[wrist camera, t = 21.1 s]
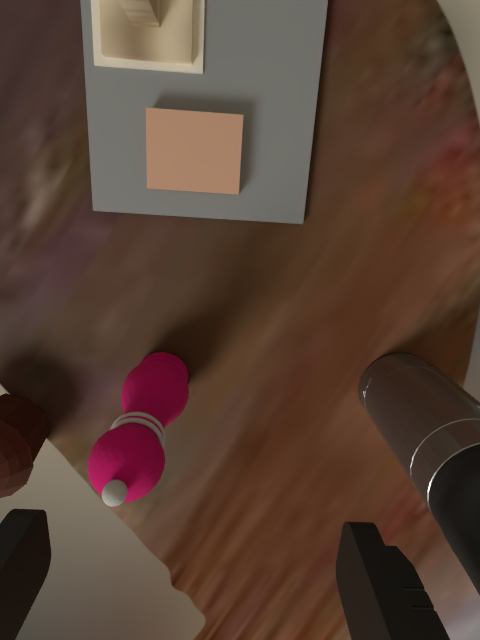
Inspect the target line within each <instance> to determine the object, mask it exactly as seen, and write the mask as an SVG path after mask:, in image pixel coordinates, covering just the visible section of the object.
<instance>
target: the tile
mask: <svg viewBox="0 0 480 640" xmlns="http://www.w3.org/2000/svg"><path fill="white" fill-rule="evenodd" d="M242 130H243V115H240V114H226V113H213V112H199V111H185V110H172V109H158V108H146V160H147V188H148V189H158V190H173V191H189V192H204V193H219V194H234V195H239V183H240V165H241V148H242Z"/></svg>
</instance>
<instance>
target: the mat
mask: <svg viewBox="0 0 480 640" xmlns="http://www.w3.org/2000/svg"><path fill="white" fill-rule="evenodd" d="M327 6H328V0H205V14H204V52H203V74H195V73H182V72H169V71H156V70H143V69H130V68H117V67H104V66H95V65H94V53H93V34H92V15H91V0H81V16H82V33H83V50H84V67H85V84H86V100H87V117H88V134H89V151H90V168H91V184H92V201H93V211H105V212H121V213H137V214H152V215H168V216H184V217H200V218H216V219H231V220H247V221H263V222H279V223H294V224H303V221H304V212H305V203H306V194H307V185H308V176H309V167H310V158H311V149H312V140H313V131H314V122H315V113H316V104H317V95H318V86H319V77H320V68H321V59H322V50H323V41H324V32H325V23H326V15H327ZM146 108H158V109H172V110H185V111H199V112H213V113H226V114H240V115H243V130H242V148H241V165H240V183H239V195H234V194H219V193H204V192H189V191H173V190H158V189H148V188H147V160H146Z"/></svg>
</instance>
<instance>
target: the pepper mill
mask: <svg viewBox="0 0 480 640" xmlns="http://www.w3.org/2000/svg"><path fill="white" fill-rule="evenodd" d="M187 382H188V370H187V368H186V366H185V364H184V363H183V361H181V360H180V359H179V358H178V357H177V356H175V355H173V354H170V353H166V352H157V353H153V354H150V355H148V356H147V357H145V358H144V359H143V360H142V361H141V363H140V364H139V366H137V367H136V368H134V369H133V370H132V371H131V372H130V373H129V375H128V376H127V378H126V380H125V382H124V385H123V388H122V398H121V400H122V406H123V411H124V415H122V416H120V417H119V418H117V419H116V420H115V422H114V423H113V425H112V427H111V429H110V430H109V431H108V432H106V433H105V434H104V435H103V436H101V437H100V438H99V439H98V441H97V442H96V443H95V445H94V447H93V448H92V451H91V453H90V456H89V461H88V476H89V478H90V481H91V483H92V485H93V487H94V488H95V489H96V491H97V492H99V493H100V494H101V495H102V499H103V501H104V503H105V504H107V505H108V506H118V505H120V504H121V503H122V502H130V501H134V500H137V499H139V498H142V497H143V496H145V495H146V494H148V493H149V492H150V491H151V490H152V489H153V488H154V487H155V486H156V484H157V483H158V481H159V480H160V478H161V475H162V472H163V470H164V464H165V456H164V450H163V448H164V444H165V440H166V435H165V430H164V427H165V426H166V425H168V424H169V423H171V422H173V421H174V420H175V419H176V418H177V417H178V416H179V415H180V414H181V412H182V411H183V409H184V407H185V405H186V403H187V400H188V394H189V389H188V384H187Z"/></svg>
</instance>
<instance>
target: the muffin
mask: <svg viewBox="0 0 480 640" xmlns="http://www.w3.org/2000/svg"><path fill="white" fill-rule="evenodd" d="M48 433H49V429H48V427H47V424H46V418H45V413H44V412H43V411H41V410H40V409H39V408H37V407H36V406H35V405H34V404H33V403H32V402H31V401H30V400H29V399H28V398H22V397H16V396H13V395H9V394H6V393H5V394H3V395H1V396H0V498H2V497H6V496H10V495H12V494H14V493H15V492H16V491H18V490H19V489H20V488H21V487H23V486H24V485H25V484H27V481H28V479H29V476H30V474H31V471H32V469H33V462H34V460H35V458H36V456H37V454H38V453H39V451H40V448H41V447H42V445H43V443H44V441H45V439H46V437H47V435H48Z"/></svg>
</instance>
